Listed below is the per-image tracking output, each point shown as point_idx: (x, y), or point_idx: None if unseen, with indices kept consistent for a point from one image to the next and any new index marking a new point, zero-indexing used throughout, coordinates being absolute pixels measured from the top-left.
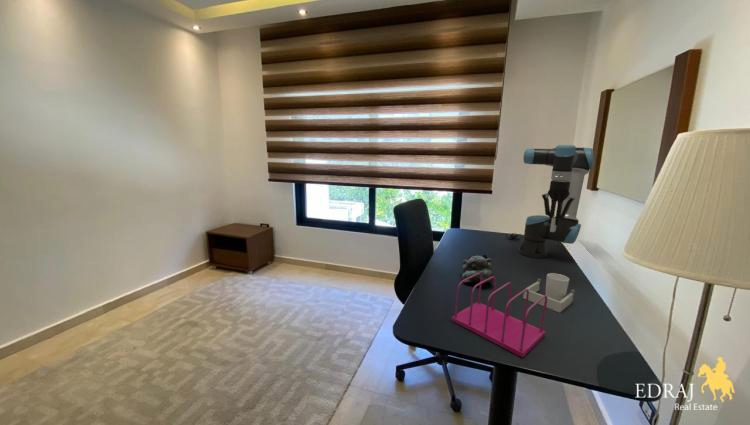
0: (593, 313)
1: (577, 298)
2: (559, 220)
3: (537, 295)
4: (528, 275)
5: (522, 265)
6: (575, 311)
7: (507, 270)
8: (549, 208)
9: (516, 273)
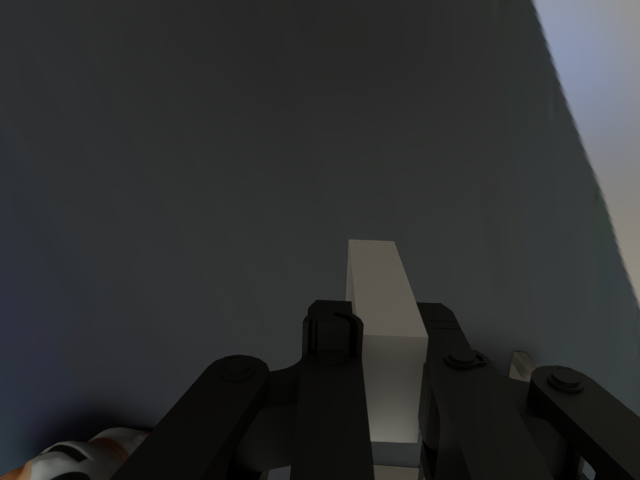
0: (611, 393)
1: (538, 295)
2: (467, 346)
3: None
4: (260, 191)
5: (158, 38)
6: None
7: (142, 214)
8: (213, 471)
9: (199, 217)
